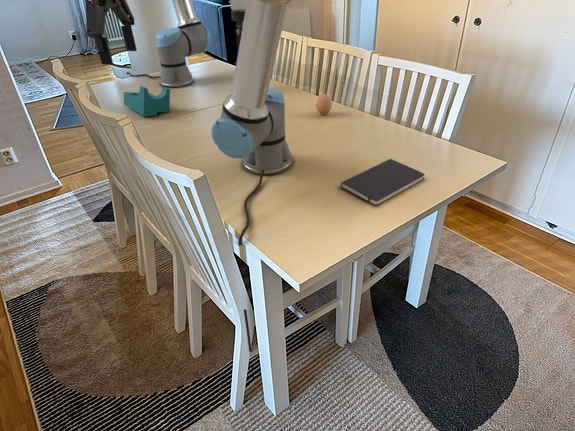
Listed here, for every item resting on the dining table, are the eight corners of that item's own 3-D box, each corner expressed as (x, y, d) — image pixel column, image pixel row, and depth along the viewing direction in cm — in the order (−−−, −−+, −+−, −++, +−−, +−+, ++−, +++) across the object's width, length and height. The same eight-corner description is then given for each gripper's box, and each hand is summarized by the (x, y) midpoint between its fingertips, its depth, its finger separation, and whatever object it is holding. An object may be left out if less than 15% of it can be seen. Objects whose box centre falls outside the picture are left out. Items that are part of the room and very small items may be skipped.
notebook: (389, 163, 124) (340, 187, 113) (390, 158, 123) (341, 182, 112) (424, 178, 116) (375, 206, 105) (425, 174, 115) (376, 201, 104)
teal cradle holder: (169, 115, 164) (170, 89, 159) (143, 115, 156) (144, 88, 152) (148, 104, 174) (148, 79, 170) (123, 104, 167) (123, 78, 163)
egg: (320, 118, 154) (320, 97, 149) (313, 113, 158) (313, 93, 154) (334, 115, 156) (335, 95, 151) (326, 110, 160) (327, 90, 156)
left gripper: (236, 6, 172) (242, 63, 185) (225, 13, 158) (232, 74, 171) (253, 6, 171) (257, 63, 184) (244, 13, 157) (249, 74, 170)
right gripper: (108, -39, 108) (128, 45, 120) (50, -30, 88) (82, 70, 100) (134, -39, 107) (152, 46, 119) (82, -30, 87) (110, 70, 99)
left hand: (245, 68), depth 178 cm, fingers closed on pill bottle, 4 cm apart
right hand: (120, 57), depth 110 cm, fingers open, 13 cm apart
